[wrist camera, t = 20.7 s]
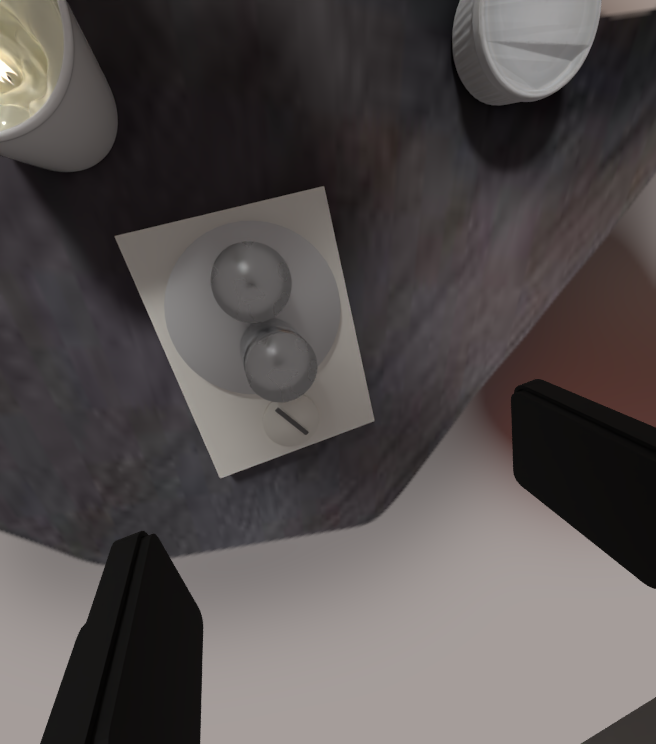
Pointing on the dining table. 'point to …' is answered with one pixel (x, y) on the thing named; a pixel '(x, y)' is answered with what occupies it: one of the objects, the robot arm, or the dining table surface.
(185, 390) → the scale
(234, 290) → the disc
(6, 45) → the candle holder
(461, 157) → the dining table surface
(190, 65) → the dining table surface
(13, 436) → the dining table surface
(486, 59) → the ramekin
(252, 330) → the cylinder
